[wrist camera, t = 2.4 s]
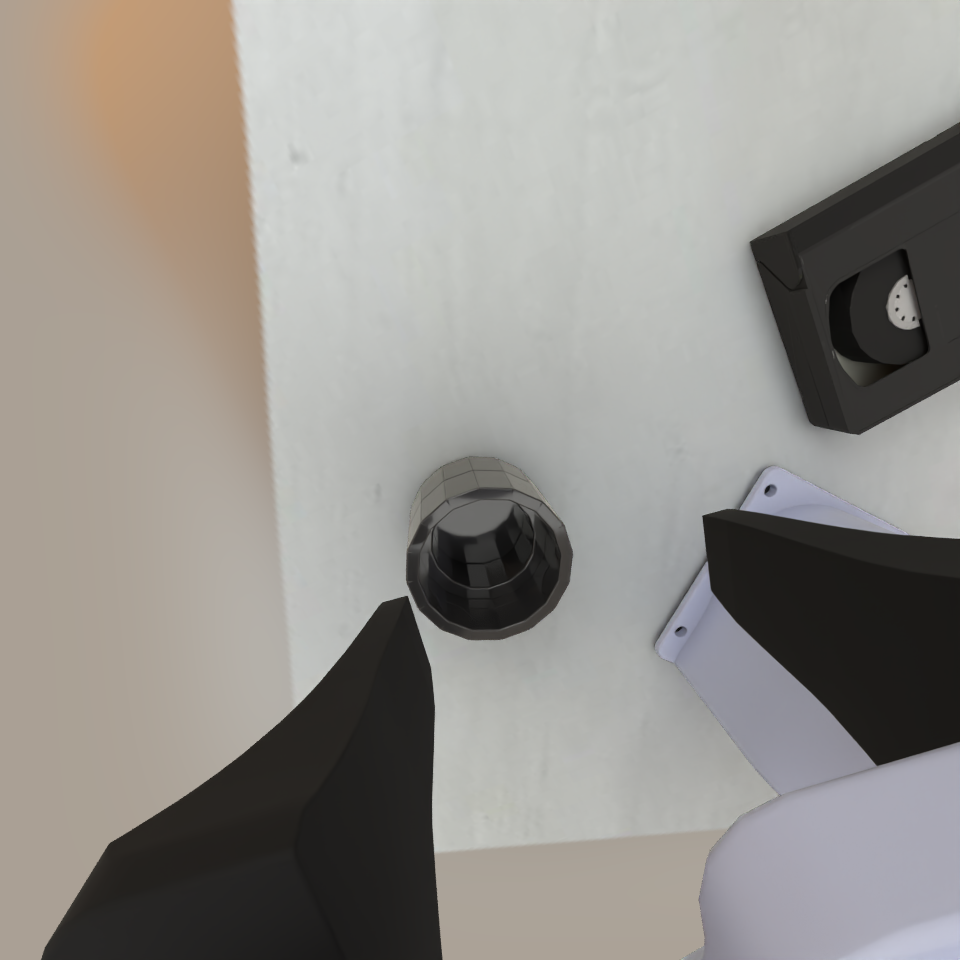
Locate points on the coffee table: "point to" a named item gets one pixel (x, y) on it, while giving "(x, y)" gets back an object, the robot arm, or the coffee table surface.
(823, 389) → the vhs tape
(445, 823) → the coffee table surface
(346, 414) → the coffee table surface
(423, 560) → the black hollow cylinder
